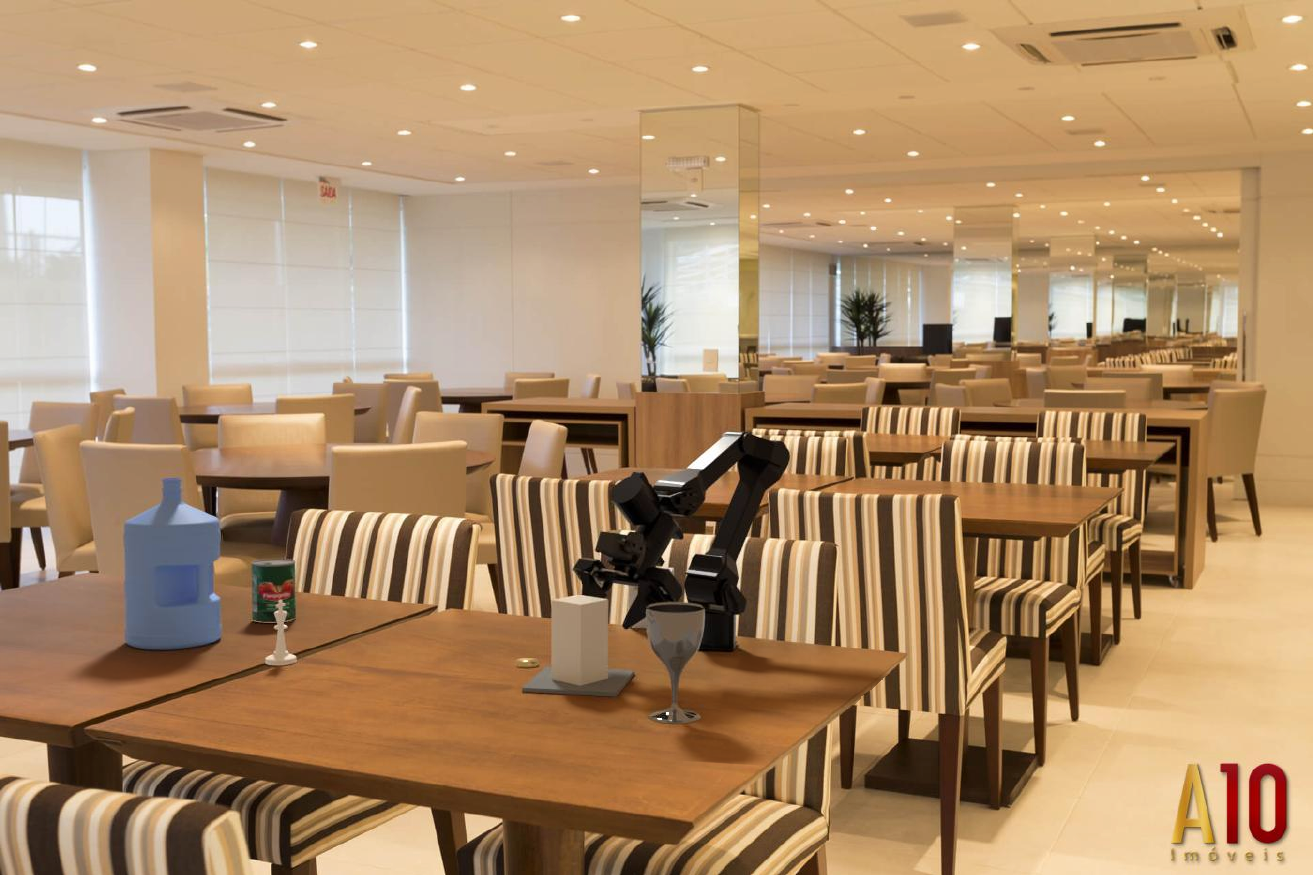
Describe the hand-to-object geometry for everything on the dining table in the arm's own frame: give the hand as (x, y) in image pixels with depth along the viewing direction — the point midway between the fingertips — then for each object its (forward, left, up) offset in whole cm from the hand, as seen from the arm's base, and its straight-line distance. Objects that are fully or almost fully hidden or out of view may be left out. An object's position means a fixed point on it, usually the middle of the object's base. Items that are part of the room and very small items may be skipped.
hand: (601, 623), depth 199 cm
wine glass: (-15, +20, -8) cm, 26 cm away
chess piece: (+52, 0, -8) cm, 53 cm away
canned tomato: (+69, -32, -8) cm, 77 cm away
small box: (-1, -41, -8) cm, 42 cm away
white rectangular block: (+2, +4, -8) cm, 9 cm away
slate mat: (+2, +4, -8) cm, 9 cm away
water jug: (+77, -11, -8) cm, 79 cm away
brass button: (+13, -6, -9) cm, 17 cm away
